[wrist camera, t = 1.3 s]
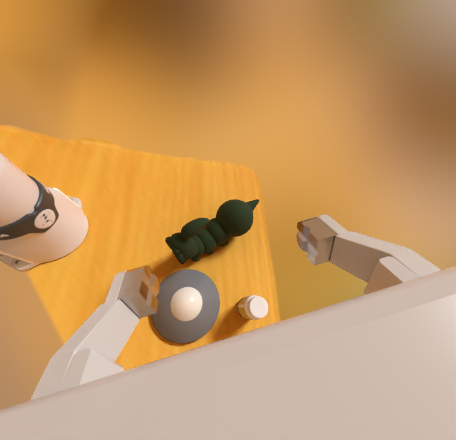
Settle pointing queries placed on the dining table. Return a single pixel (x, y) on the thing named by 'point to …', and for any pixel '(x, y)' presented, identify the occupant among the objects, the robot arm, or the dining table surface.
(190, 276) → the charcoal plate
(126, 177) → the dining table surface
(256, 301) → the supplement bottle
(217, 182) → the dining table surface
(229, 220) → the toy figurine
